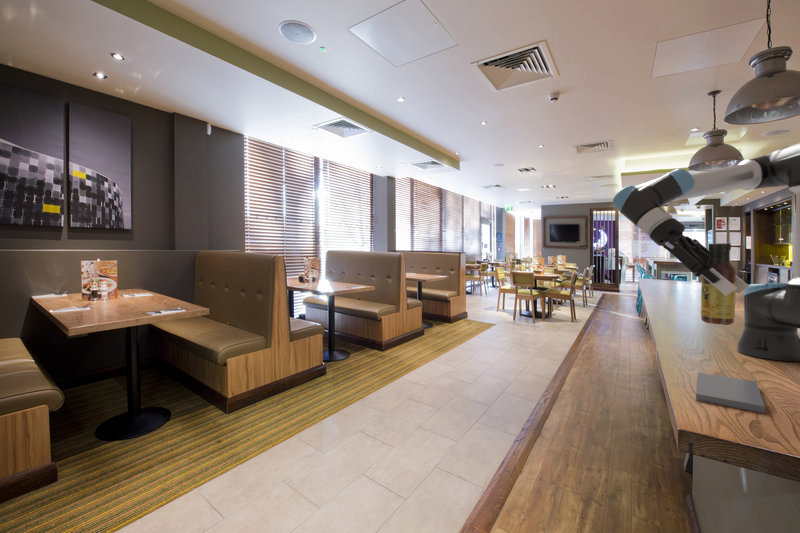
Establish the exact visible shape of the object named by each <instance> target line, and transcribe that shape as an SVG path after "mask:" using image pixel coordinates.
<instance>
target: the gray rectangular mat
mask: <svg viewBox="0 0 800 533" xmlns="http://www.w3.org/2000/svg"><path fill="white" fill-rule="evenodd" d="M757 383H758V382H757V381H756V380H750V379H749V380H748V379H743V378H737V377H731V376H723V375H716V374H711V373H705V372H699V371H698V372H697V379H696V391H695V398H696V399H695V400H696V401H699V402H704V403H709V404H714V403H716V404H715V405H719V406H726V407H731V408H735V409H741V410H745V411H750V412H756V413H762V414H766V406H765V403H764V400H763V396H762V393H761V392H760V388H759V385H758V384H757Z"/></svg>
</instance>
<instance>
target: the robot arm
mask: <svg viewBox="0 0 800 533" xmlns="http://www.w3.org/2000/svg"><path fill="white" fill-rule="evenodd" d="M777 187H779V188H780V187H788V188H787V190H789V191H790V192H792V193H794V194H795V216H794V218H795V224H794V226H795V227H794V257H793V258H794V259H793V260H794V261H793V262H794V263H793V265H794V266H793V267H794V269H793V277H792V278H791V279H789V280H788V281H786V282H773V283H772V282H771V283H769V282H768V283H750V284H748V283H746V281H744V280H743V279H741V277H739V276H737V275H735V282H736V287H735V286H734V285H733V284H732V283H731V282H729V281H728V280H727V279H726V278H725V277H723V276H722V275H721V274H720V273H718V272H717V271H716V270H715V269H714V268H711V269H709V268H710V267H709V266H708V265H707V263H708V261H709V249H708V248H707V247H705V246H704V245H703V244H701V242H699V240H697V239H695V238H694V239H693V238H691V237H689V236H685V235H684V234H683V233H684V231H685V230H686V228H685V225H684V224H683V223H681V222H680V221H679V220H678V219H677V218H675V217H674V218H673V215H671V214H670V213H669V212H668V211H666V210H665V209H664V208H662V207H663V206H665V205H667V204H668V203H670V202H675V201H681V200H686V199H693V198H699V197H702V196H703V197H704V196H708V195H712V194H713V195H714V194H718V193H724V192H728V191H734V190H741V189H742V190H744V191H751V190H756V189H765V188H777ZM612 205H613V207H614V208H615V209H616V210H617V211H618V212H619V213H620V214H622V215H623V216H624V217H625V218H626V219H628V220H629V221H630V222H631V223H632V224H634V225H635V226H636V227H637V228H638V229H639V230H640V231H639V232H640V233H642V234H644V235H646V236H648V237H649V238H650V240H651V241H653V242H654V243H655V244H656V245H658V246H659V247H662V248H664V250H667V252H669V253H670V254H671V255H672V256H673V257H675V258H676V259H677V260H678V261H679V262H680V263H682V265H684V267H685V268H687V269H688V270H689V271H690V272H691V273H692V274H694V276H695V277H696V278H699V277H702V276H703V277H704V278H705V279H706V280H707V281H709V282H710V283H711V284H712V285H713V286H714V287H716V288H717V289H718V290H719V291H720V292H721V293H723V294H724V295H725V296H727V295H728V294H730V293H731V292H733V291H734V290H736V293H735V294H738V295H740V294H741V293H743V292H744V293H743V307H744V308H743V310H744V311H743V316H744V317H743V318H744V320H743V321H744V323H743V324H744V326H743V327H744V328H743V331H742V332H741V335H740V337H739V339H738V342H736V343H737V344H736V350H737V352H738V353H740V354H743V355H747V356H750V357H754V358H760V359H764V360H772V361H780V362H781V361H783V362H800V335H799V334H798V333H799V332H798V330H799V329H800V142H798V143H795V144H793V145H789V146H785V147H782V148H779V149H777V150H774V151H771V152H769V153H768V152H767V153H766V154H763V155H759V156H756V157H754V158H749V159H744V160H742V161H741V162H739V163H738V164H737V165H736V164H735V165H730V166H726V167H725V166H724V167H721V168H716V169H711V170H706V171H700V172H696V173H690V172H689V171H688V170H686V169H683V168H675V169H674V170H671V171H668V172H667V173H665V174H664V175H662V176H660V177H658V178H655V179H652V180H648V181H647V182H644V183H640V184H638V185H629V186H625V187H623V188H622V189H621V188H620V190H619V191H618V192H617V193H616V194H615V195H614V196H613V199H612Z"/></svg>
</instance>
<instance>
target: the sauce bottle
mask: <svg viewBox="0 0 800 533" xmlns="http://www.w3.org/2000/svg"><path fill="white" fill-rule="evenodd" d="M707 249H708V250H709V261H708V263H707V265H708V266H709V267H710V268H709V269H711V268H714V269H715V270H716V271H717V272H718V273H720V274H721V275H722V276H723V277H725V278H726V279H727V280H728V281H729V282H731V283H732V284H733V285H734V286H735V287H736V282H735V275H736V269H735V267H734V266H733V265H732V264H731V263H730V260H731V258H730V252H731V250H732V244H731V243H729V242H727V243H726V242H725V243H723V242H721V243H720V242H719V243H708V248H707ZM736 276H737V275H736ZM736 294H737V293H736V290H734V291H733V292H731V293H730V294H728V295H727V296H725V295H724V294H723V293H721V292H720V291H719V290H718V289H717V288H716V287H714V286H713V285H712V284H711V283H710V282H709V281H707V280H706V279H705V278H704V277H703V276H702V275H701V294H700V315H701V316H700V317H701V320H702V321H703V322H704V323H706V324H714V325H723V326H727V325H728V326H729V325H732V324H733V323H734V322H735V320H734V319H735V316H736V315H735V314H736V313H735V312H736Z"/></svg>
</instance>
